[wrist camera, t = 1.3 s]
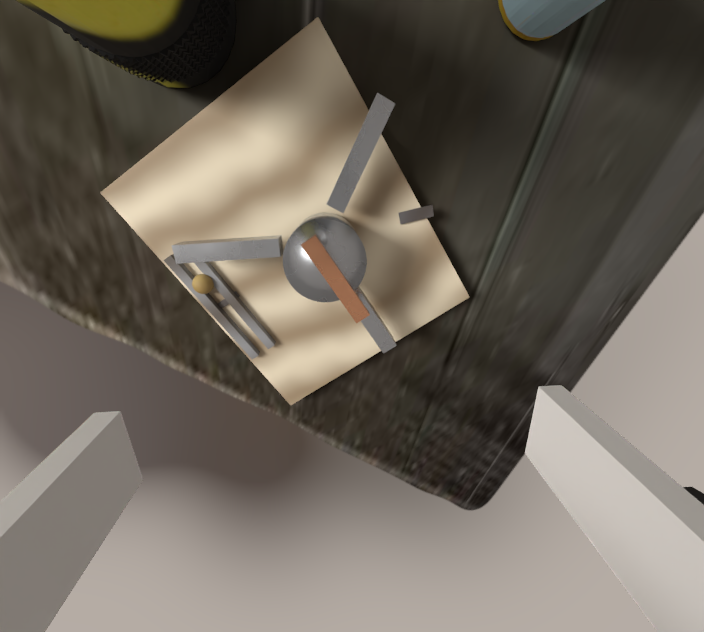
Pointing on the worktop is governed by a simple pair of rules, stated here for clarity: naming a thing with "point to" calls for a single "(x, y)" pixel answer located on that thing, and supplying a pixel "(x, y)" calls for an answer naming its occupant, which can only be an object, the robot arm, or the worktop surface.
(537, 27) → the bottle
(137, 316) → the worktop surface
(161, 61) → the container
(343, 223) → the capstan
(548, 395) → the robot arm
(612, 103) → the worktop surface
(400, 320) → the stand
